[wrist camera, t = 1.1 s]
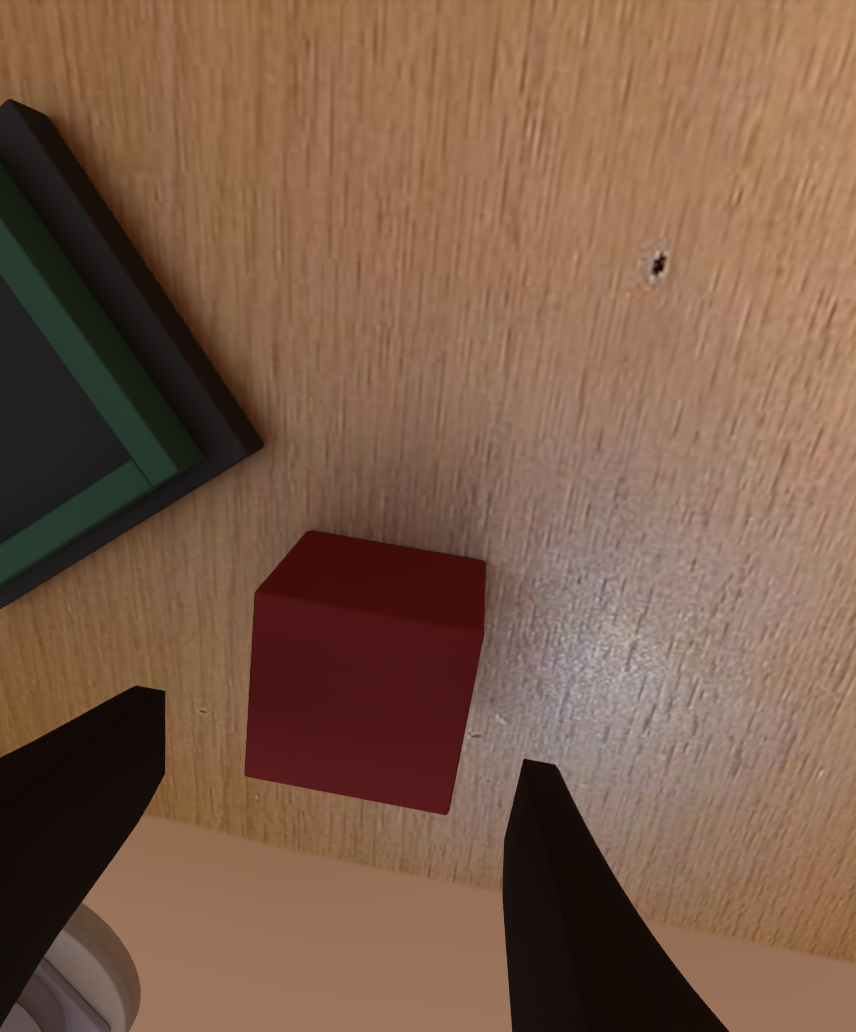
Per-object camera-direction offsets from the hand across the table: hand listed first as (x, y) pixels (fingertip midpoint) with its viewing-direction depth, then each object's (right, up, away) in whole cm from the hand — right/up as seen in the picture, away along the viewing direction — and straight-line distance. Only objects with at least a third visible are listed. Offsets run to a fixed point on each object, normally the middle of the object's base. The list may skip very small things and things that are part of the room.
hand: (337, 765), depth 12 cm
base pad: (-9, +8, +4) cm, 13 cm away
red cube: (+1, +2, +5) cm, 6 cm away
